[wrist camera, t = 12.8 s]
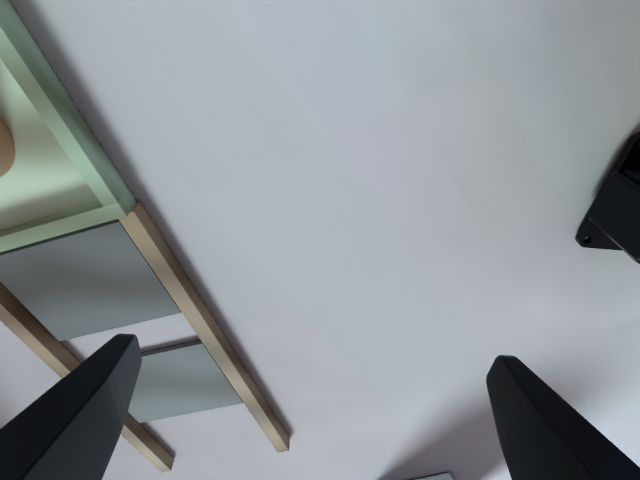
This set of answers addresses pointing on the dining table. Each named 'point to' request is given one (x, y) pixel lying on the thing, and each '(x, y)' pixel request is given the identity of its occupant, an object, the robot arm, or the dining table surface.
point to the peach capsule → (6, 149)
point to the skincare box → (438, 477)
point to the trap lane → (98, 257)
